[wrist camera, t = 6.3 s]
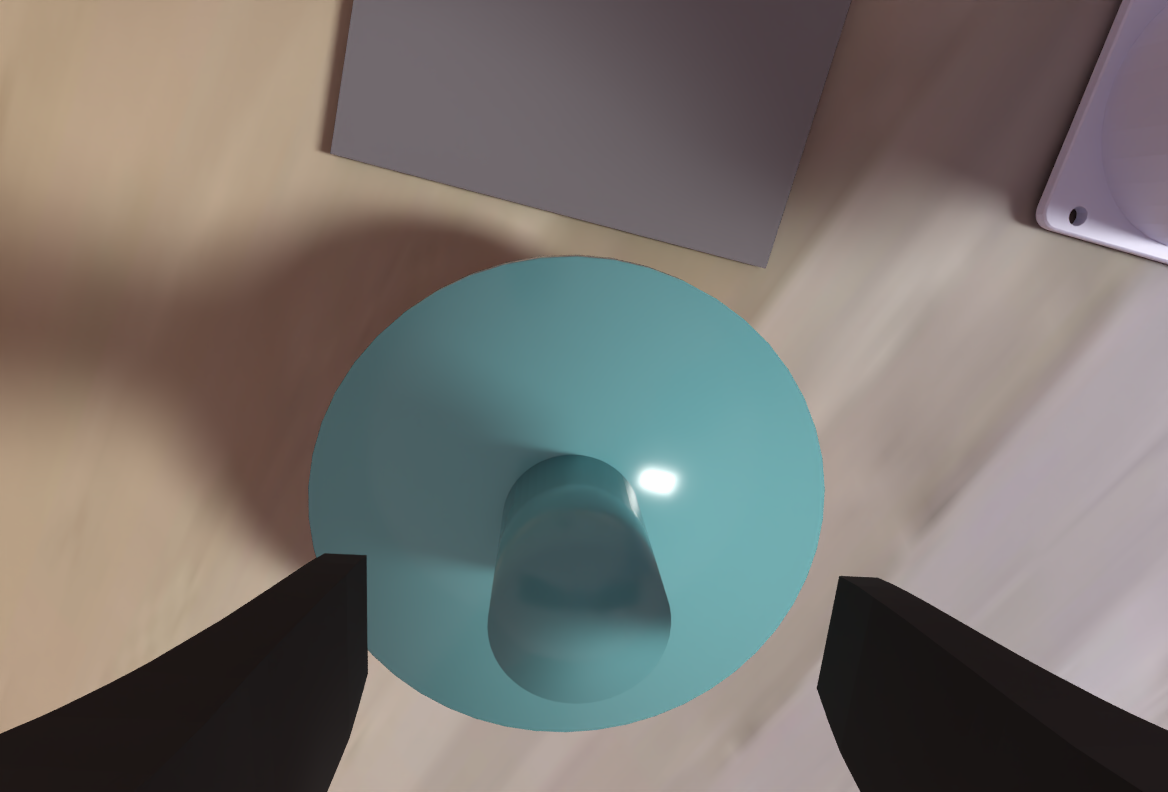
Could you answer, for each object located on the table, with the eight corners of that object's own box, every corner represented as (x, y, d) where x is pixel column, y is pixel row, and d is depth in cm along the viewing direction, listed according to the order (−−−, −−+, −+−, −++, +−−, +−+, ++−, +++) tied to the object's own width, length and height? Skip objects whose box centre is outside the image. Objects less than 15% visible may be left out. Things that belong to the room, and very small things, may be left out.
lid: (841, 261, 15) (976, 287, 11) (784, 707, 19) (867, 881, 14) (298, 247, 15) (177, 268, 10) (337, 712, 18) (260, 899, 13)
